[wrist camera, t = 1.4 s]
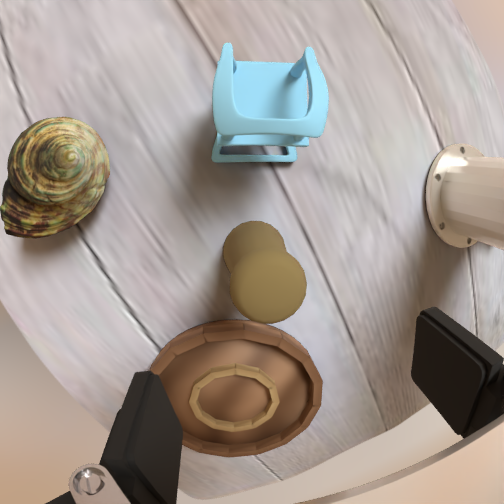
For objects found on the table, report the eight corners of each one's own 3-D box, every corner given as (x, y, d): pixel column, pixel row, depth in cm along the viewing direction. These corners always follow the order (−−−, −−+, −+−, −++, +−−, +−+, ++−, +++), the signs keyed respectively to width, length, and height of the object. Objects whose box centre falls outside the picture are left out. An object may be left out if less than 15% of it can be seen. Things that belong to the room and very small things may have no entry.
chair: (293, 80, 26) (335, 27, 14) (295, 162, 28) (342, 154, 16) (211, 78, 25) (205, 19, 14) (211, 163, 27) (203, 152, 16)
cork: (229, 215, 28) (232, 240, 18) (291, 227, 29) (329, 257, 19) (217, 276, 30) (215, 331, 19) (277, 286, 31) (304, 342, 20)
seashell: (31, 132, 24) (-29, 124, 14) (123, 121, 25) (79, 99, 16) (30, 229, 27) (-27, 252, 17) (120, 230, 28) (76, 257, 18)
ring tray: (342, 340, 33) (350, 351, 31) (281, 450, 37) (284, 462, 35) (166, 297, 30) (162, 307, 27) (141, 425, 34) (138, 438, 32)
